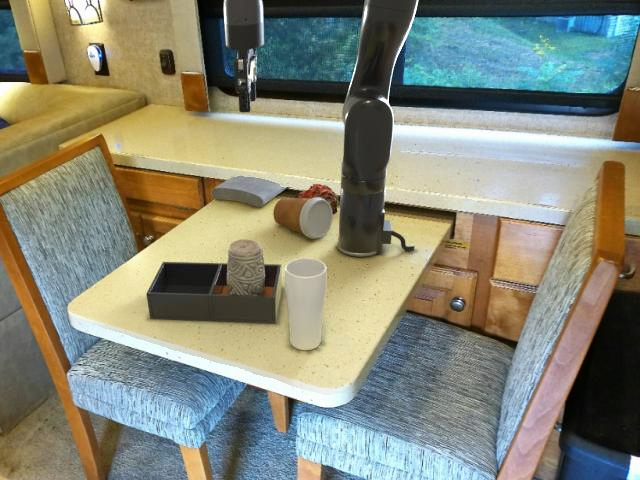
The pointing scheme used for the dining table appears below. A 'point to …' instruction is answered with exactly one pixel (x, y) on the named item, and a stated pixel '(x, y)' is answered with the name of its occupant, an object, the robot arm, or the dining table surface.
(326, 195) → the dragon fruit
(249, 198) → the hip flask
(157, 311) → the storage box with compartments
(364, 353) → the dining table surface
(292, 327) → the drinking glass
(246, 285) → the carving
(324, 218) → the disposable coffee cup
